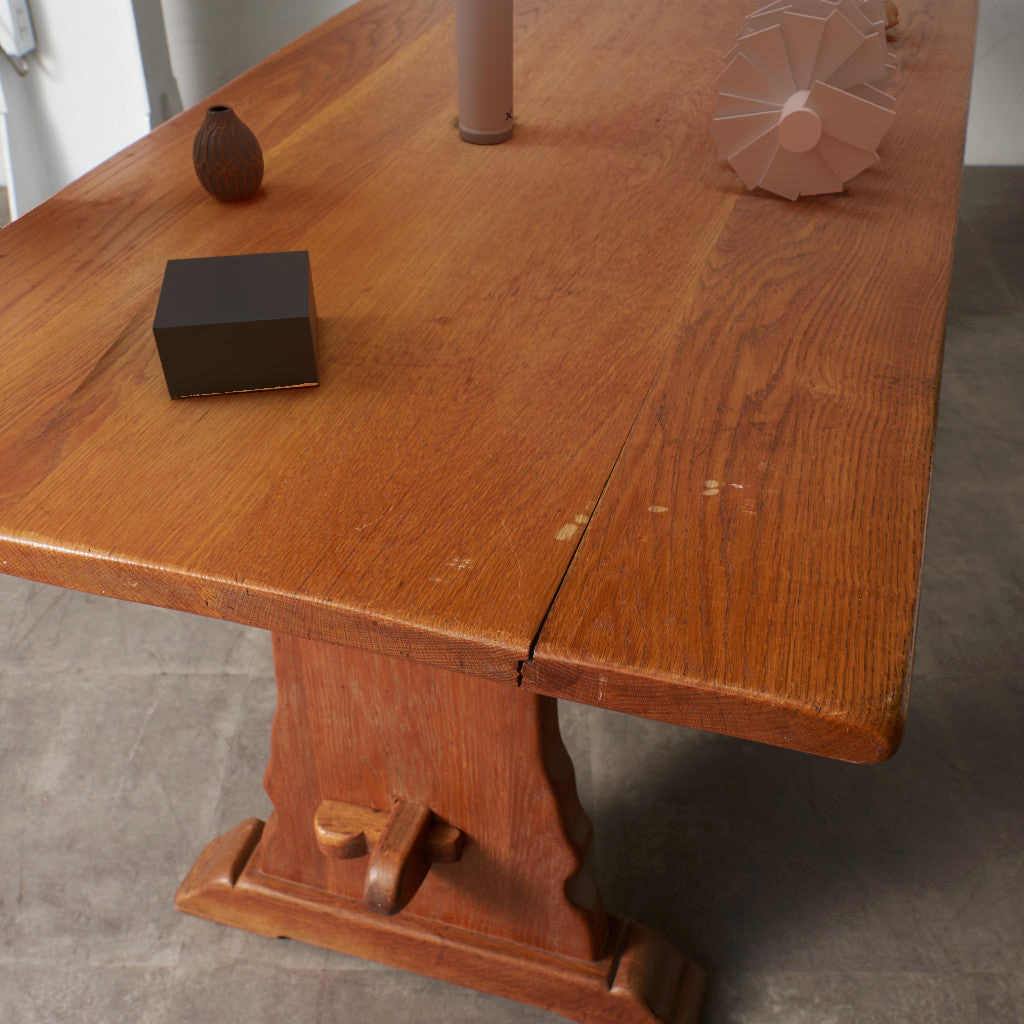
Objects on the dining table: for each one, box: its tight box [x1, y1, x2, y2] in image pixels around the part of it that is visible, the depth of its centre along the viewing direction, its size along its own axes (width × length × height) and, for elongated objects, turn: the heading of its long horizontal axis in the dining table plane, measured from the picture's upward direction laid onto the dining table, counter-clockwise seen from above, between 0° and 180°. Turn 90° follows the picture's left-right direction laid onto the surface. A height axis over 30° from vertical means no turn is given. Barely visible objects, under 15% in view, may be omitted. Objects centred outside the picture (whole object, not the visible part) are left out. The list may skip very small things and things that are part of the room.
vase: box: [192, 104, 265, 203], centre depth 102 cm, size 7×7×9 cm
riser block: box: [151, 249, 320, 399], centre depth 78 cm, size 11×11×6 cm
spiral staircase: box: [709, 0, 898, 202], centre depth 105 cm, size 18×18×25 cm
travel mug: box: [454, 0, 514, 145], centre depth 111 cm, size 6×7×20 cm
